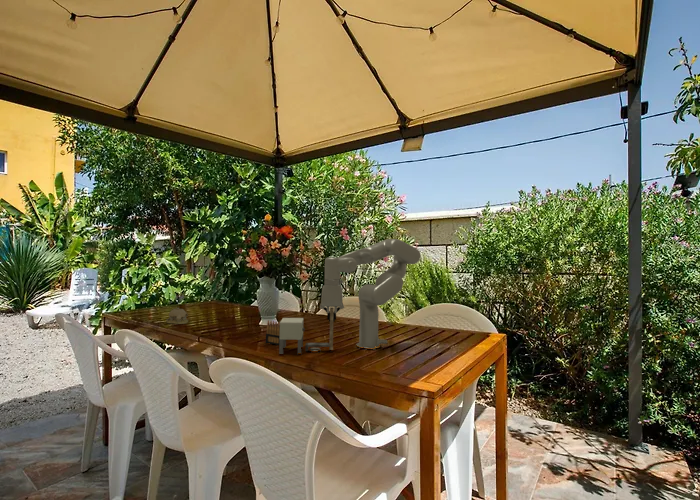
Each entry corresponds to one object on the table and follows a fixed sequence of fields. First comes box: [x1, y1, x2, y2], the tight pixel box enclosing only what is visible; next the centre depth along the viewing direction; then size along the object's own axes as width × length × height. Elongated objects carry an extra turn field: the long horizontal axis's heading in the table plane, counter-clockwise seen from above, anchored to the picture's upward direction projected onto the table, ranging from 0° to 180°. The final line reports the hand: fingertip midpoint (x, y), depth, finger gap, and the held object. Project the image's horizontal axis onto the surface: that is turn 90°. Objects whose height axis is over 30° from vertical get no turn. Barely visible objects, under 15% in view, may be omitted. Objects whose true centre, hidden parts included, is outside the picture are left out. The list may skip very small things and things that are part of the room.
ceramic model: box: [165, 307, 189, 325], centre depth 250 cm, size 14×11×10 cm
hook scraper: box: [304, 307, 334, 352], centre depth 181 cm, size 13×5×20 cm, turn 93°
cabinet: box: [278, 317, 305, 355], centre depth 181 cm, size 11×13×15 cm
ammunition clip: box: [265, 320, 280, 346], centre depth 194 cm, size 11×2×12 cm, turn 59°
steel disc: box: [309, 347, 321, 351], centre depth 181 cm, size 5×5×2 cm
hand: (331, 320), depth 182 cm, fingers closed on hook scraper, 1 cm apart
